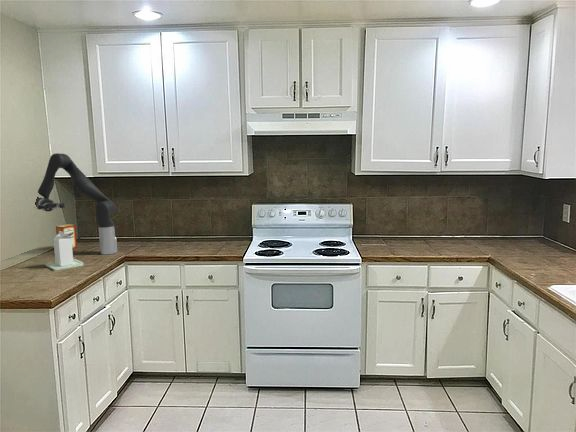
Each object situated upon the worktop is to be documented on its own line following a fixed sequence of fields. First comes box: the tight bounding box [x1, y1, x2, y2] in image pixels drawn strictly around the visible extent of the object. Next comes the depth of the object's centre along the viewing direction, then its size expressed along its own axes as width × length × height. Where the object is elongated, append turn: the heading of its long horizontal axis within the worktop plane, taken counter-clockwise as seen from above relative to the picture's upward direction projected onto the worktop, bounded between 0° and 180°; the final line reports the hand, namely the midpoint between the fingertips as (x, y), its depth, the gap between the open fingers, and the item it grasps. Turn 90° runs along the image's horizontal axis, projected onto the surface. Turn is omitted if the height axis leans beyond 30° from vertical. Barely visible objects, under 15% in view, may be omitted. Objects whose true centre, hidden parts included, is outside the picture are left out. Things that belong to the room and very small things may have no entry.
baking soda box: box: [55, 223, 78, 250], centre depth 298 cm, size 10×6×16 cm
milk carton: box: [52, 231, 74, 266], centre depth 253 cm, size 7×7×19 cm
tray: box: [45, 258, 85, 272], centre depth 254 cm, size 16×16×1 cm
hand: (54, 207), depth 263 cm, fingers open, 8 cm apart
